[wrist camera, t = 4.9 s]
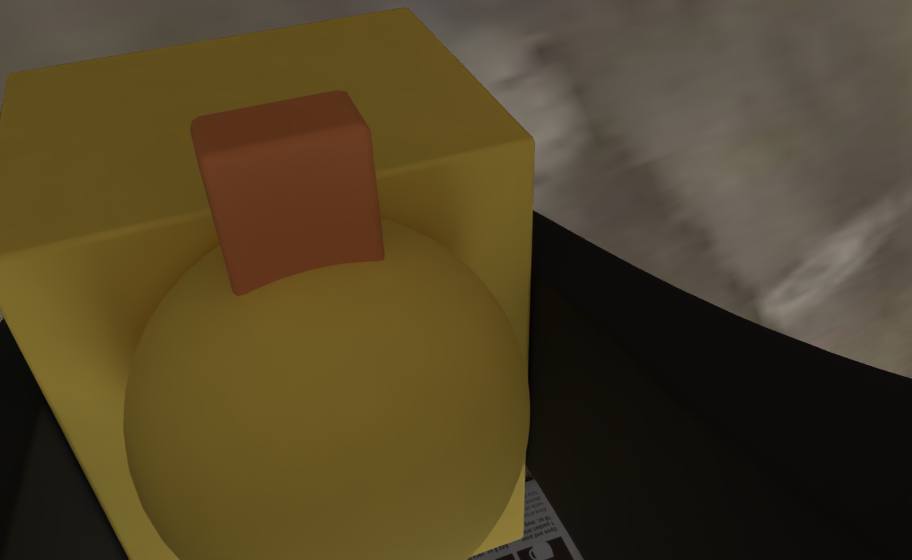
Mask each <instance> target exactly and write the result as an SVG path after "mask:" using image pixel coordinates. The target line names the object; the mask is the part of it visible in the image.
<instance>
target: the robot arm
mask: <svg viewBox="0 0 912 560" xmlns="http://www.w3.org/2000/svg"><path fill="white" fill-rule="evenodd" d="M528 386H529V395H530V428H529V436H528V444H527V449H526V463H525V464H526V466H527V467H528V469H529V471H530V472H531V474H532V475H533V477H534V479H535V480H536V482H537V484H538V485H539V487H540V488H541V490H542V492H543V493H544V495H545V497H546V498H547V500H548V502H549V503H550V505H551V506H552V508H553V510H554V511H555V513H556V515H557V516H558V518H559V519H560V521H561V523H562V524H563V526H564V528H565V529H566V531H567V533H568V534H569V536H570V537H571V539H572V541H573V542H574V544H575V546H576V547H577V549H578V550H579V552H580V554H581V556H582V558H583V559H584V560H912V379H911V378H908V377H904V376H901V375H898V374H894V373H891V372H888V371H885V370H881V369H878V368H875V367H872V366H869V365H866V364H863V363H860V362H857V361H854V360H851V359H848V358H845V357H842V356H839V355H837V354H834V353H831V352H828V351H826V350H823V349H821V348H818V347H815V346H813V345H810V344H807V343H805V342H802V341H800V340H797V339H794V338H792V337H789V336H786V335H784V334H781V333H779V332H776V331H773V330H771V329H768V328H766V327H763V326H761V325H758V324H756V323H754V322H751V321H749V320H747V319H744V318H742V317H739V316H737V315H735V314H733V313H730V312H728V311H726V310H724V309H722V308H720V307H717V306H715V305H713V304H711V303H709V302H707V301H704V300H702V299H700V298H698V297H696V296H694V295H691V294H689V293H687V292H685V291H683V290H681V289H679V288H677V287H675V286H673V285H671V284H669V283H667V282H665V281H663V280H661V279H659V278H657V277H655V276H653V275H651V274H649V273H647V272H645V271H643V270H641V269H639V268H637V267H635V266H633V265H631V264H630V263H628V262H626V261H624V260H622V259H620V258H618V257H616V256H615V255H613V254H611V253H609V252H607V251H605V250H603V249H602V248H600V247H598V246H596V245H594V244H593V243H591V242H589V241H587V240H585V239H584V238H582V237H580V236H578V235H576V234H575V233H573V232H571V231H569V230H567V229H566V228H564V227H562V226H560V225H559V224H557V223H555V222H553V221H551V220H550V219H548V218H546V217H544V216H543V215H541V214H539V213H537V212H535V211H534V210H533V220H532V255H531V290H530V324H529V359H528ZM0 560H129V559H128V557H127V555H126V553H125V551H124V549H123V547H122V545H121V543H120V541H119V540H118V538H117V536H116V534H115V532H114V530H113V528H112V526H111V524H110V522H109V520H108V518H107V516H106V514H105V512H104V511H103V509H102V507H101V505H100V503H99V501H98V499H97V497H96V495H95V493H94V491H93V489H92V487H91V485H90V483H89V482H88V480H87V478H86V476H85V474H84V472H83V470H82V468H81V466H80V464H79V462H78V460H77V458H76V456H75V454H74V452H73V451H72V449H71V447H70V445H69V443H68V441H67V439H66V437H65V435H64V433H63V431H62V429H61V427H60V425H59V423H58V422H57V420H56V418H55V416H54V414H53V412H52V410H51V408H50V406H49V404H48V402H47V400H46V398H45V396H44V394H43V393H42V391H41V389H40V387H39V385H38V383H37V381H36V379H35V377H34V375H33V373H32V371H31V369H30V367H29V365H28V364H27V362H26V360H25V358H24V356H23V354H22V352H21V350H20V348H19V346H18V344H17V342H16V340H15V338H14V336H13V334H12V333H11V331H10V329H9V327H8V325H7V323H6V321H5V319H4V318H3V320H2V321H1V323H0Z"/></svg>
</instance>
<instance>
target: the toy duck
mask: <svg viewBox="0 0 912 560" xmlns="http://www.w3.org/2000/svg"><path fill="white" fill-rule="evenodd" d="M534 151H535V142H534V139H533V137H532V136H531V135H530V134H529V133H528V132H527V131H526V130H525V129H524V128H523V127H522V126H521V125H520V124H519V123H518V122H517V121H516V120H515V119H514V118H513V117H512V116H511V115H510V114H509V112H508V111H507V110H506V109H505V108H504V107H503V106H502V105H501V104H500V103H499V102H498V101H497V100H496V99H495V98H494V97H493V96H492V95H491V94H490V93H489V92H488V91H487V90H486V89H485V88H484V86H483V85H482V84H481V83H480V82H479V81H478V80H477V79H476V78H475V77H474V76H473V75H472V74H471V73H470V72H469V71H468V70H467V69H466V68H465V67H464V66H463V65H462V64H461V63H460V62H459V60H458V59H457V58H456V57H455V56H454V55H453V54H452V53H451V52H450V51H449V50H448V49H447V48H446V47H445V46H444V45H443V44H442V43H441V42H440V41H439V40H438V39H437V38H436V37H435V35H434V34H433V33H432V32H431V31H430V30H429V29H428V28H427V27H426V26H425V25H424V24H423V23H422V22H421V21H420V20H419V19H418V18H417V17H416V16H415V15H414V14H413V13H412V12H411V11H410V9H409V8H405V7H404V8H398V9H392V10H386V11H380V12H375V13H369V14H363V15H357V16H351V17H345V18H339V19H333V20H327V21H321V22H315V23H309V24H303V25H297V26H291V27H285V28H279V29H273V30H267V31H261V32H255V33H249V34H243V35H237V36H231V37H225V38H219V39H213V40H207V41H201V42H195V43H189V44H183V45H177V46H171V47H165V48H159V49H153V50H147V51H141V52H135V53H129V54H123V55H117V56H111V57H105V58H99V59H93V60H87V61H81V62H75V63H69V64H63V65H57V66H51V67H45V68H39V69H33V70H27V71H21V72H16V73H11V74H9V75H8V76H7V81H6V87H5V93H4V99H3V105H2V112H1V118H0V311H1V313H2V315H3V317H4V319H5V321H6V323H7V325H8V327H9V329H10V331H11V333H12V334H13V336H14V338H15V340H16V342H17V344H18V346H19V348H20V350H21V352H22V354H23V356H24V358H25V360H26V362H27V364H28V365H29V367H30V369H31V371H32V373H33V375H34V377H35V379H36V381H37V383H38V385H39V387H40V389H41V391H42V393H43V394H44V396H45V398H46V400H47V402H48V404H49V406H50V408H51V410H52V412H53V414H54V416H55V418H56V420H57V422H58V423H59V425H60V427H61V429H62V431H63V433H64V435H65V437H66V439H67V441H68V443H69V445H70V447H71V449H72V451H73V452H74V454H75V456H76V458H77V460H78V462H79V464H80V466H81V468H82V470H83V472H84V474H85V476H86V478H87V480H88V482H89V483H90V485H91V487H92V489H93V491H94V493H95V495H96V497H97V499H98V501H99V503H100V505H101V507H102V509H103V511H104V512H105V514H106V516H107V518H108V520H109V522H110V524H111V526H112V528H113V530H114V532H115V534H116V536H117V538H118V540H119V541H120V543H121V545H122V547H123V549H124V551H125V553H126V555H127V557H128V559H129V560H467V559H468V558H469V557H471V556H474V555H477V554H479V553H482V552H485V551H488V550H490V549H493V548H496V547H499V546H502V545H504V544H507V543H510V542H513V541H515V540H518V539H521V538H522V537H523V532H524V498H525V463H526V449H527V444H528V436H529V428H530V395H529V386H528V359H529V324H530V290H531V255H532V220H533V186H534Z"/></svg>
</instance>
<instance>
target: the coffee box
mask: <svg viewBox="0 0 912 560" xmlns="http://www.w3.org/2000/svg"><path fill="white" fill-rule="evenodd" d="M467 560H583V559H582V557H581V555H580V554H579V552H578V550H577V548H576V546H575V544H574V543H573V541H572V539H571V537H570V536H569V534H568V533H567V531H566V529H565V528H564V526H563V524H562V523H561V521H560V519H559V518H558V516H557V515H556V513H555V511H554V510H553V508H552V506H551V505H550V503H549V502H548V500H547V498H546V497H545V495H544V493H543V492H542V490H541V488H540V487H539V485H538V484H537V482H536V480H535V479H534V480H530V481H527V482H525V498H524V532H523V537H522V538H521V539H518V540H515V541H513V542H510V543H507V544H504V545H502V546H499V547H496V548H493V549H490V550H488V551H485V552H482V553H479V554H477V555H474V556H471V557H469V558H468V559H467Z"/></svg>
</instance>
